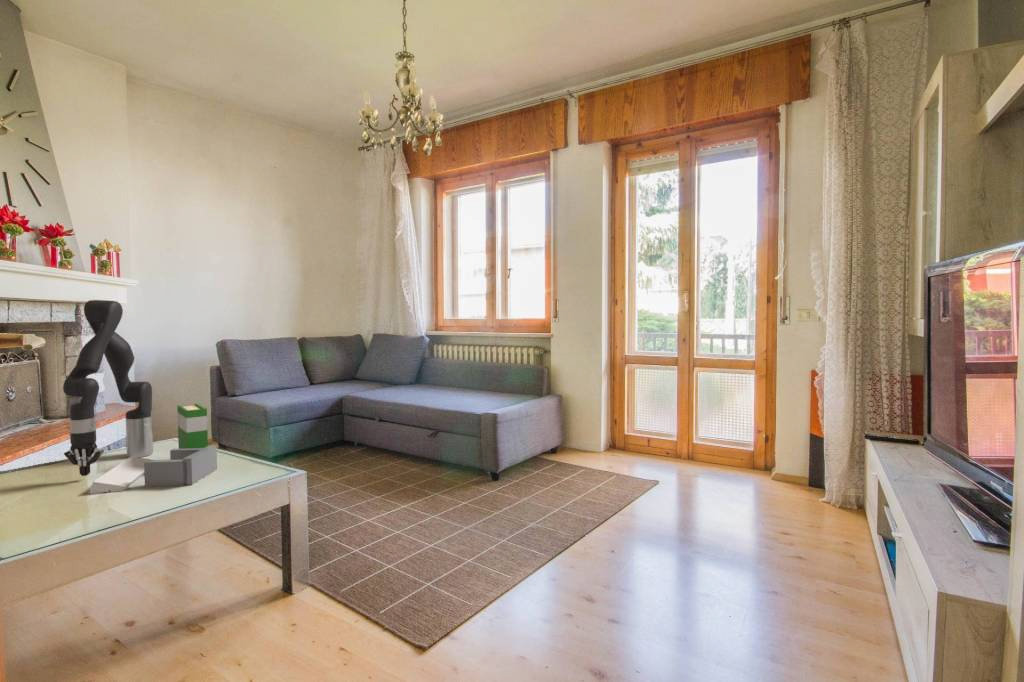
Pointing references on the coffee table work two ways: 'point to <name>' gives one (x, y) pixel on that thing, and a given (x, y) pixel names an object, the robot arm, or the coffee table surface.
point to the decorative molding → (120, 476)
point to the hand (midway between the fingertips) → (84, 475)
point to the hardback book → (192, 426)
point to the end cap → (181, 467)
